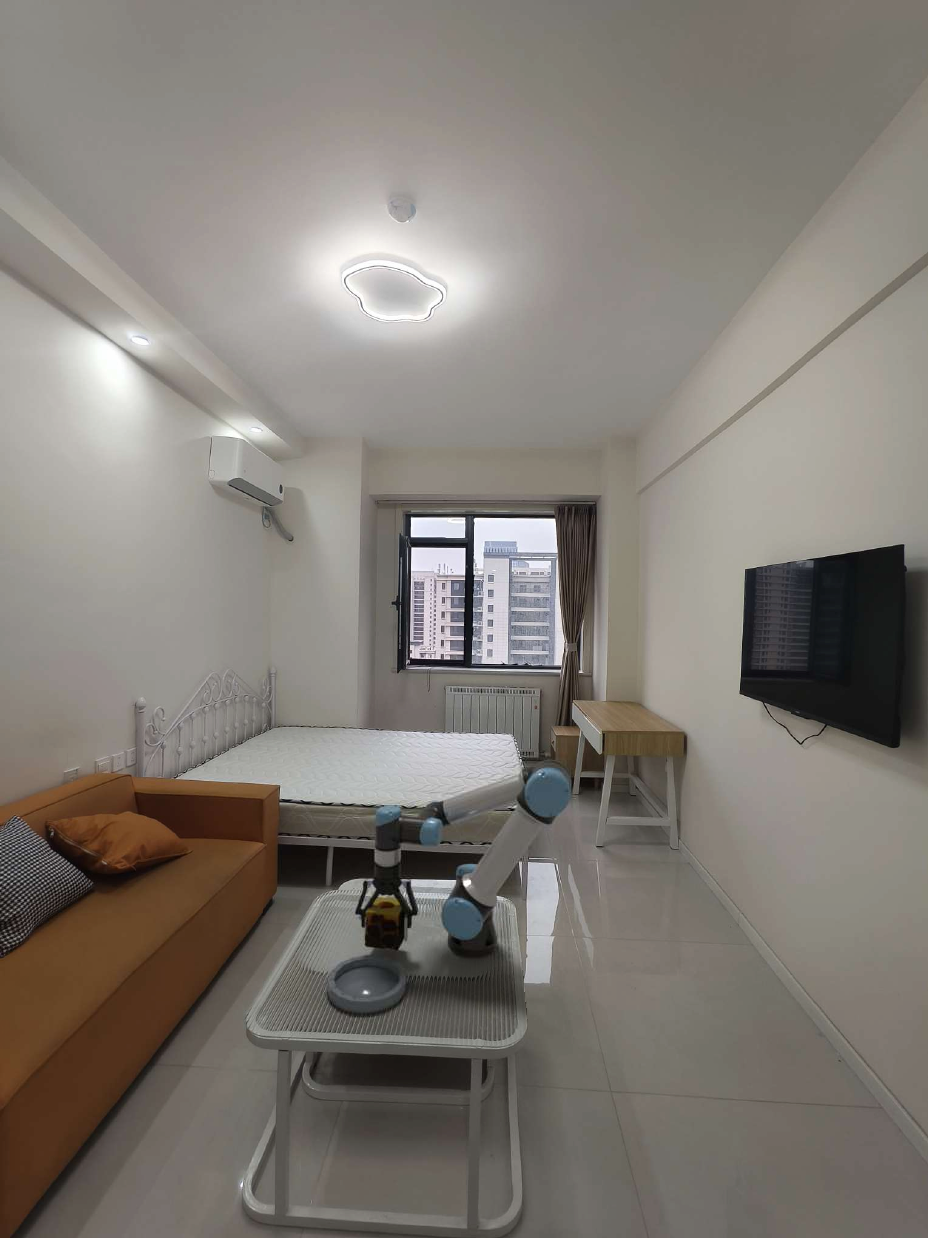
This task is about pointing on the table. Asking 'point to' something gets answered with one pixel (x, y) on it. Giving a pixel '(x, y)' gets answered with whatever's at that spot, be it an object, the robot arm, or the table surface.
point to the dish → (366, 984)
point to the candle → (385, 924)
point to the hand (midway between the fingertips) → (386, 938)
